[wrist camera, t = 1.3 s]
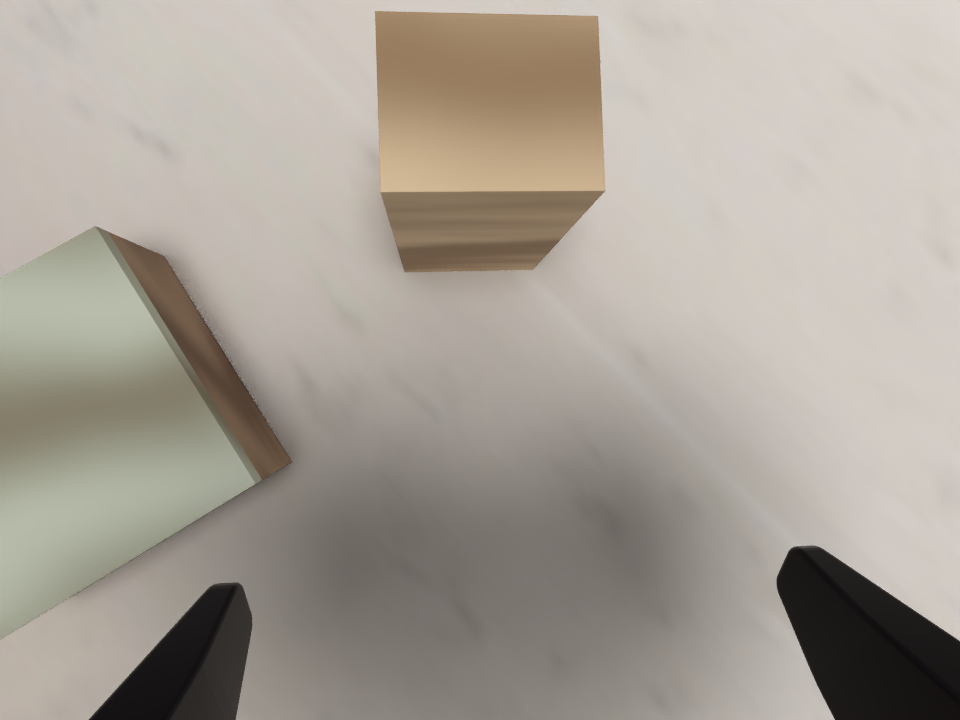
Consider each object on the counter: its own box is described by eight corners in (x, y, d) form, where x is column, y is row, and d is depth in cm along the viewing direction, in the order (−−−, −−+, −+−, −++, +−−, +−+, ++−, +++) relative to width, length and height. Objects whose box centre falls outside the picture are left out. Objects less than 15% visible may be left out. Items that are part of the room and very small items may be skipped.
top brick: (532, 269, 21) (605, 190, 12) (404, 271, 21) (381, 192, 12) (529, 169, 21) (597, 16, 12) (401, 169, 21) (375, 11, 12)
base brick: (291, 462, 20) (255, 483, 16) (71, 596, 19) (-24, 654, 15) (163, 256, 20) (95, 226, 16) (-64, 383, 19) (-196, 385, 15)
